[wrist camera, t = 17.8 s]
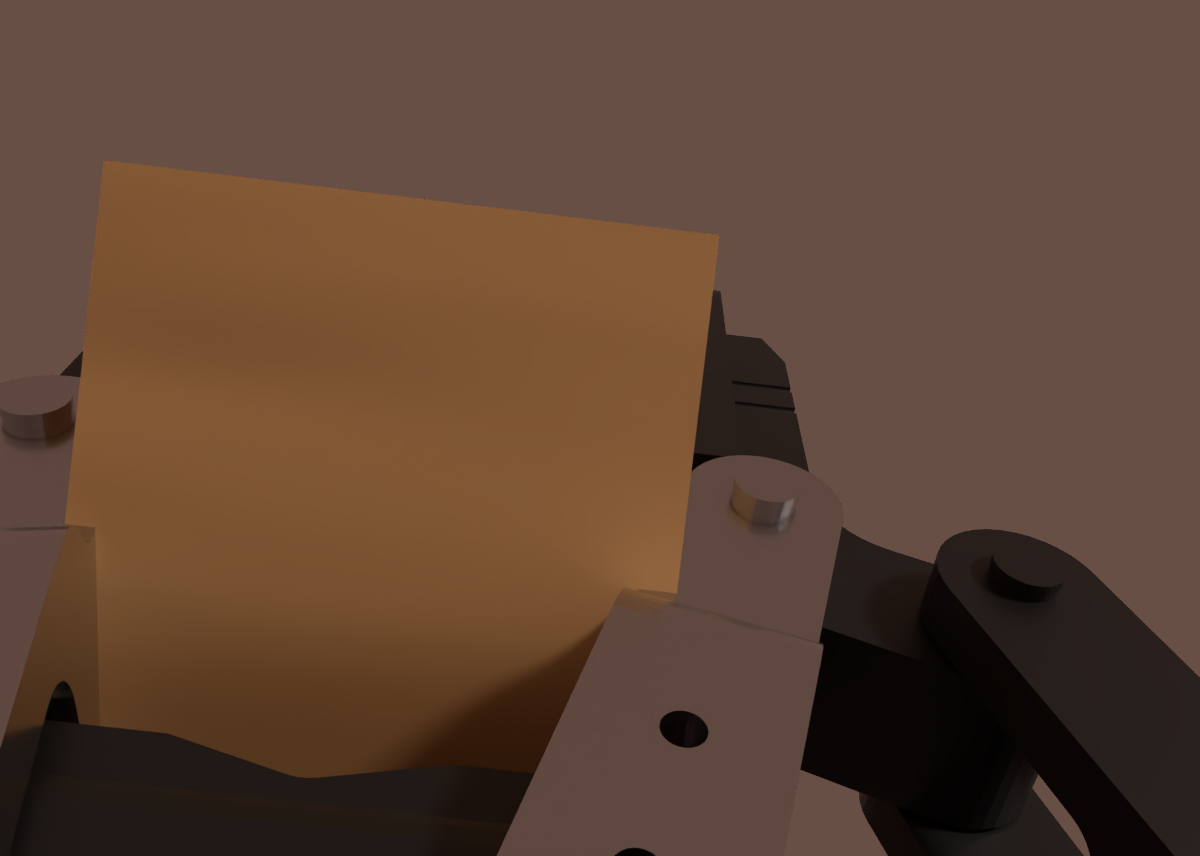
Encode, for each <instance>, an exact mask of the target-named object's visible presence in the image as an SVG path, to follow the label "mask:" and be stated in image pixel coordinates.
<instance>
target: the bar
mask: <svg viewBox="0 0 1200 856" xmlns="http://www.w3.org/2000/svg"><path fill="white" fill-rule="evenodd" d="M719 236H720V235H714V234H705V233H698V232H689V231H681V230H673V229H664V228H657V227H648V226H640V225H631V224H624V223H615V222H607V221H599V220H590V219H583V218H574V217H566V216H558V215H549V214H542V213H533V212H525V211H517V210H508V209H500V208H492V207H484V206H476V205H467V204H459V203H451V202H443V201H435V200H426V199H418V198H410V197H401V196H393V195H384V194H377V193H369V192H361V191H352V190H343V189H336V188H328V187H320V186H311V185H303V184H295V183H286V182H278V181H270V180H261V179H253V178H245V177H237V176H228V175H221V174H213V173H204V172H196V171H188V170H179V169H171V168H163V167H155V166H146V165H138V164H130V163H122V162H114V161H106V160H104V165H103V174H102V184H101V193H100V203H99V212H98V220H97V230H96V239H95V248H94V257H93V266H92V277H91V285H90V294H89V304H88V313H87V322H86V331H85V341H84V349H83V359H82V368H81V377H80V386H79V396H78V405H77V414H76V423H75V432H74V442H73V451H72V460H71V469H70V479H69V488H68V497H67V506H66V515H65V524H70V525H79V526H88V527H95V539H96V583H97V626H98V670H99V713H100V726H105V727H114V728H123V729H132V730H142V731H151V732H160V733H168V734H171V735H174V736H177V737H180V738H183V739H186V740H188V741H191V742H194V743H197V744H200V745H203V746H206V747H209V748H212V749H215V750H218V751H221V752H223V753H226V754H229V755H232V756H235V757H238V758H241V759H244V760H247V761H250V762H253V763H255V764H258V765H261V766H264V767H267V768H270V769H273V770H276V771H279V772H282V773H285V774H288V775H292V776H296V777H303V778H318V777H329V776H339V775H350V774H360V773H371V772H381V771H392V770H402V769H413V768H423V767H434V766H444V765H463V766H472V767H481V768H490V769H499V770H508V771H518V772H527V773H535V772H536V770H537V768H538V766H539V763H540V761H541V759H542V757H543V755H544V753H545V750H546V748H547V746H548V744H549V742H550V740H551V738H552V735H553V733H554V731H555V729H556V727H557V725H558V722H559V720H560V718H561V716H562V714H563V712H564V709H565V707H566V705H567V703H568V701H569V699H570V697H571V694H572V692H573V690H574V688H575V686H576V684H577V681H578V679H579V677H580V675H581V673H582V671H583V668H584V666H585V664H586V662H587V660H588V658H589V656H590V653H591V651H592V649H593V647H594V645H595V643H596V640H597V638H598V636H599V634H600V632H601V630H602V627H603V625H604V623H605V621H606V619H607V617H608V615H609V612H610V610H611V608H612V606H613V604H614V602H615V600H616V598H617V596H618V595H619V593H620V591H621V590H622V589H623V588H628V589H631V590H635V591H638V589H643V590H651V591H660V592H669V593H677V589H678V580H679V572H680V563H681V555H682V547H683V538H684V530H685V521H686V513H687V505H688V496H689V488H690V480H691V471H692V463H693V454H694V446H695V438H696V429H697V421H698V412H699V404H700V396H701V387H702V379H703V370H704V362H705V354H706V345H707V337H708V329H709V320H710V312H711V303H712V295H713V287H714V278H715V270H716V261H717V253H718V245H719Z"/></svg>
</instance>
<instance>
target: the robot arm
mask: <svg viewBox="0 0 1200 856" xmlns="http://www.w3.org/2000/svg"><path fill="white" fill-rule="evenodd" d="M82 359H83V351H82V352H81V354H80V355H79V356H78V357H77V358H76V359H75V360H74V361H73V362H72V363H71V364H70V365H69V366H68V367H67V368H66V369H65V370H64V371H63V373H61V375H60V376H57V375H50V376H35V377H26V378H20V379H15V380H10V381H6V382H3V383H0V856H784V852H785V846H786V841H787V836H788V831H789V826H790V820H791V815H792V809H793V805H794V799H795V794H796V789H797V784H798V779H799V773H800V770H803V771H805V772H808V773H811V774H813V775H816V776H819V777H821V778H824V779H827V780H829V781H832V782H834V783H837V784H840V785H842V786H845V787H847V788H850V789H853V790H855V791H858V792H859V799H860V804H861V807H862V811H863V813H864V815H865V817H866V819H867V821H868V823H869V824H870V826H871V828H872V829H873V831H874V833H875V835H876V836H877V838H878V840H879V841H880V843H881V844H882V846H883V848H884V850H885V851H886V853H887V855H888V856H1084V855H1083V854H1082V853H1081V852H1080V850H1079V849H1078V848H1077V846H1076V845H1075V844H1074V842H1073V841H1072V840H1071V839H1070V838H1069V836H1068V835H1067V833H1066V832H1065V831H1064V829H1063V828H1062V827H1061V825H1060V824H1059V823H1058V822H1057V820H1056V819H1055V818H1054V816H1053V815H1052V814H1051V812H1050V811H1049V810H1048V808H1047V807H1046V806H1045V805H1044V803H1043V802H1042V801H1041V799H1040V798H1039V797H1038V795H1037V794H1036V793H1035V791H1034V790H1033V789H1032V787H1033V785H1034V783H1035V780H1036V778H1037V776H1038V774H1039V776H1040V777H1041V778H1042V779H1043V780H1044V782H1045V783H1046V785H1047V786H1048V787H1049V788H1050V790H1051V791H1052V792H1053V793H1054V795H1055V796H1056V797H1057V799H1058V800H1059V801H1060V802H1061V804H1062V805H1063V806H1064V808H1065V809H1066V810H1067V811H1068V813H1069V814H1070V815H1071V816H1072V818H1073V819H1074V821H1075V822H1076V824H1077V825H1078V827H1079V829H1080V830H1081V832H1082V834H1083V836H1084V839H1085V841H1086V843H1087V846H1088V849H1089V852H1090V856H1200V677H1199V676H1198V675H1197V674H1195V673H1194V672H1193V671H1192V670H1191V669H1190V668H1189V667H1188V666H1187V665H1186V664H1185V663H1184V662H1183V661H1182V660H1181V659H1180V658H1179V657H1178V656H1177V655H1176V654H1175V653H1174V652H1173V651H1172V650H1171V649H1170V648H1169V647H1168V646H1167V645H1166V644H1165V643H1164V642H1163V641H1162V640H1161V639H1160V638H1159V637H1158V636H1157V635H1155V633H1154V632H1152V631H1151V629H1150V628H1148V626H1146V625H1145V624H1144V623H1143V622H1142V621H1141V620H1140V619H1139V618H1138V617H1137V616H1136V615H1135V614H1134V613H1133V612H1132V611H1131V610H1130V609H1129V608H1128V607H1127V606H1126V605H1125V604H1124V603H1123V602H1122V601H1121V600H1120V599H1119V598H1118V597H1117V596H1116V595H1115V594H1114V593H1113V592H1112V591H1111V590H1110V589H1109V588H1107V586H1106V585H1104V583H1103V582H1102V581H1101V580H1099V579H1098V577H1096V576H1095V575H1094V574H1093V573H1092V572H1091V571H1090V570H1089V569H1088V568H1087V567H1085V566H1084V565H1083V564H1082V563H1080V562H1079V561H1078V560H1076V559H1075V558H1074V557H1072V556H1071V555H1069V554H1067V553H1065V552H1064V551H1062V550H1060V549H1058V548H1057V547H1054V546H1052V545H1050V544H1048V543H1046V542H1043V541H1040V540H1038V539H1035V538H1032V537H1029V536H1026V535H1022V534H1018V533H1013V532H1008V531H1002V530H991V529H982V530H971V531H965V532H962V533H959V534H956V535H954V536H952V537H951V538H949V539H947V540H946V541H945V542H944V543H943V544H942V545H941V547H940V549H939V551H938V554H937V557H936V560H935V563H934V564H931V563H928V562H925V561H922V560H919V559H916V558H913V557H910V556H906V555H903V554H900V553H897V552H894V551H891V550H888V549H885V548H882V547H879V546H877V545H874V544H872V543H870V542H868V541H866V540H863V539H861V538H859V537H858V536H856V535H854V534H852V533H851V532H849V531H848V530H846V529H845V528H843V527H842V523H843V513H844V512H843V508H842V504H841V502H840V501H839V499H838V497H837V495H836V494H835V493H834V492H833V490H832V489H831V488H830V487H829V486H827V485H826V484H825V483H824V482H823V481H822V480H820V479H819V478H817V477H816V476H814V475H813V474H811V473H809V470H808V466H807V461H806V456H805V452H804V448H803V443H802V438H801V434H800V429H799V425H798V420H797V416H796V413H794V411H795V407H794V402H793V397H792V393H790V384H789V379H788V375H787V370H786V365H785V362H784V361H783V360H782V359H781V358H780V357H779V356H778V355H777V354H776V353H775V352H774V351H773V350H772V349H771V348H770V347H769V346H768V345H767V344H766V343H765V342H764V341H763V340H762V339H760V338H752V337H744V336H735V335H727V334H726V331H725V323H724V315H723V307H722V300H721V293H720V291H716V290H713V295H712V303H711V312H710V320H709V329H708V337H707V345H706V354H705V362H704V370H703V379H702V387H701V396H700V404H699V412H698V421H697V429H696V438H695V446H694V454H693V463H692V471H691V480H690V488H689V496H688V505H687V513H686V521H685V530H684V538H683V547H682V555H681V563H680V572H679V580H678V589H677V593H669V592H660V591H651V590H643V589H638V591H635V590H631V589H628V588H623V589H622V590H621V591H620V593H619V595H618V596H617V598H616V600H615V602H614V604H613V606H612V608H611V610H610V612H609V615H608V617H607V619H606V621H605V623H604V625H603V627H602V630H601V632H600V634H599V636H598V638H597V640H596V643H595V645H594V647H593V649H592V651H591V653H590V656H589V658H588V660H587V662H586V664H585V666H584V668H583V671H582V673H581V675H580V677H579V679H578V681H577V684H576V686H575V688H574V690H573V692H572V694H571V697H570V699H569V701H568V703H567V705H566V707H565V709H564V712H563V714H562V716H561V718H560V720H559V722H558V725H557V727H556V729H555V731H554V733H553V735H552V738H551V740H550V742H549V744H548V746H547V748H546V750H545V753H544V755H543V757H542V759H541V761H540V763H539V766H538V768H537V770H536V772H535V773H527V772H518V771H508V770H499V769H490V768H481V767H472V766H463V765H444V766H434V767H423V768H413V769H402V770H392V771H381V772H371V773H360V774H350V775H339V776H329V777H318V778H303V777H296V776H292V775H288V774H285V773H282V772H279V771H276V770H273V769H270V768H267V767H264V766H261V765H258V764H255V763H253V762H250V761H247V760H244V759H241V758H238V757H235V756H232V755H229V754H226V753H223V752H221V751H218V750H215V749H212V748H209V747H206V746H203V745H200V744H197V743H194V742H191V741H188V740H186V739H183V738H180V737H177V736H174V735H171V734H168V733H160V732H151V731H142V730H132V729H123V728H114V727H105V726H100V713H99V670H98V626H97V583H96V539H95V527H88V526H79V525H70V524H65V515H66V506H67V497H68V488H69V479H70V469H71V460H72V451H73V442H74V432H75V423H76V414H77V405H78V396H79V386H80V377H81V368H82Z"/></svg>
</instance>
